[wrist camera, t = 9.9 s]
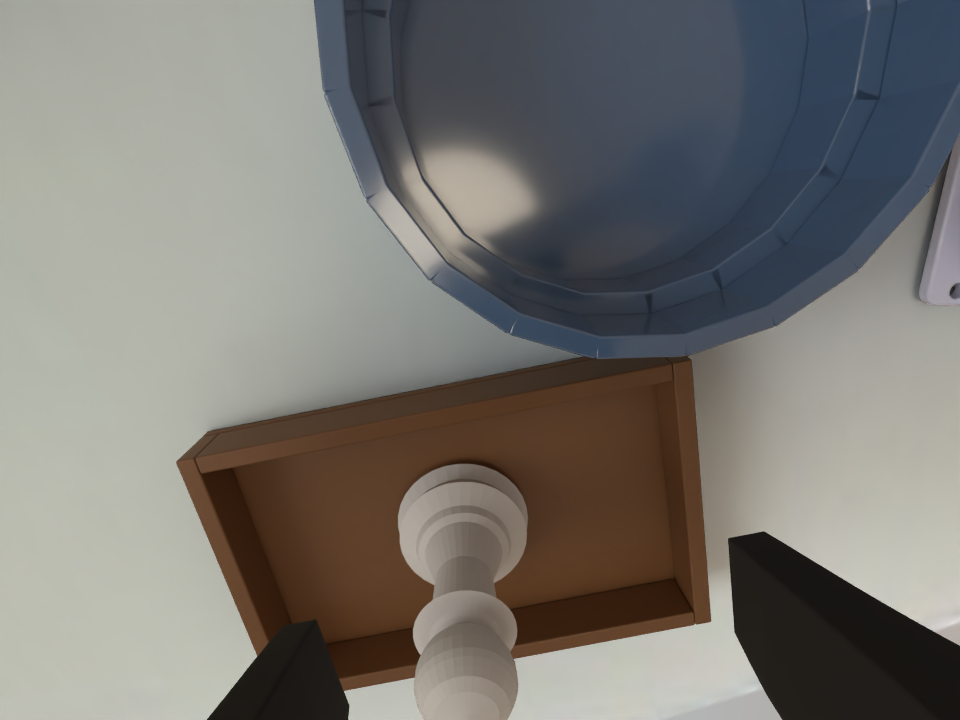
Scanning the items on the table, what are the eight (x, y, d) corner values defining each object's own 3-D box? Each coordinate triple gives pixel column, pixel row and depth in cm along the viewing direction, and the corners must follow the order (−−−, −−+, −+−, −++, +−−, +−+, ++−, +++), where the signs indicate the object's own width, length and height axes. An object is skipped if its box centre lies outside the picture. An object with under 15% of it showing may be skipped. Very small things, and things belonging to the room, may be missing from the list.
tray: (665, 340, 18) (692, 359, 16) (686, 579, 21) (712, 622, 19) (207, 431, 18) (175, 461, 16) (294, 654, 21) (276, 704, 19)
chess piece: (475, 434, 18) (488, 605, 11) (551, 525, 19) (612, 736, 12) (371, 508, 19) (314, 717, 11) (452, 591, 20) (449, 830, 13)
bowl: (887, -230, 14) (1121, -461, 9) (797, 308, 18) (923, 350, 13) (335, -234, 13) (264, -483, 8) (379, 320, 17) (349, 367, 13)
